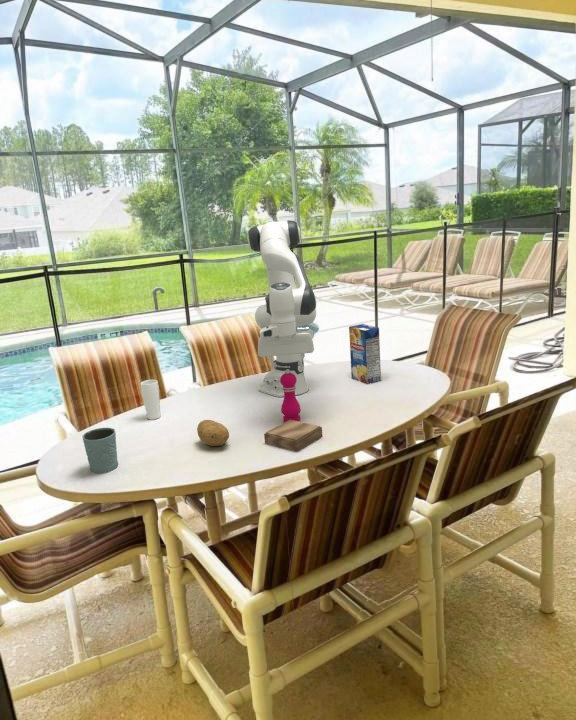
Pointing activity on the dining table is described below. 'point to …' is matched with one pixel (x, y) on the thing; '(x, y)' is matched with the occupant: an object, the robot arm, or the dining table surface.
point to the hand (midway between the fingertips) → (287, 366)
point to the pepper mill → (289, 397)
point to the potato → (212, 433)
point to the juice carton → (365, 353)
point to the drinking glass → (151, 398)
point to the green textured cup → (101, 450)
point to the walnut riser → (293, 435)
